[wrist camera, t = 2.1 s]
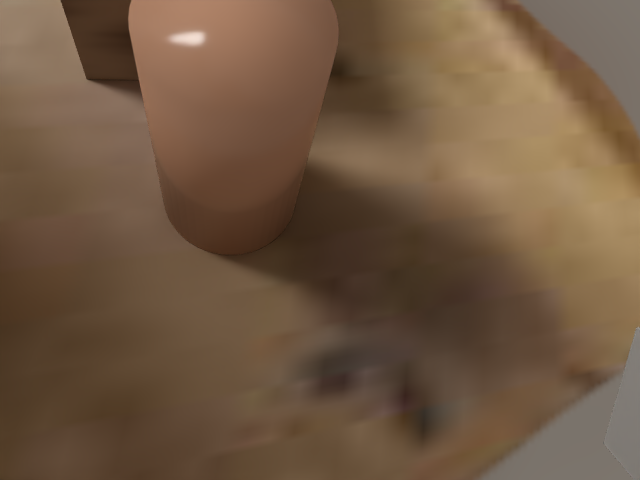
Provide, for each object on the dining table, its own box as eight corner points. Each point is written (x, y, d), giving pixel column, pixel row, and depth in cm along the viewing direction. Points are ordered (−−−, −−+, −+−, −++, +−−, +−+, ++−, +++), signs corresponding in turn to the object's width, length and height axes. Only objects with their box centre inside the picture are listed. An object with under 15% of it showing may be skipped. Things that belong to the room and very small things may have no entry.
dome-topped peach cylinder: (162, 256, 28) (125, 108, 17) (163, 136, 30) (131, -64, 19) (300, 252, 29) (349, 111, 18) (291, 136, 31) (329, -52, 20)
